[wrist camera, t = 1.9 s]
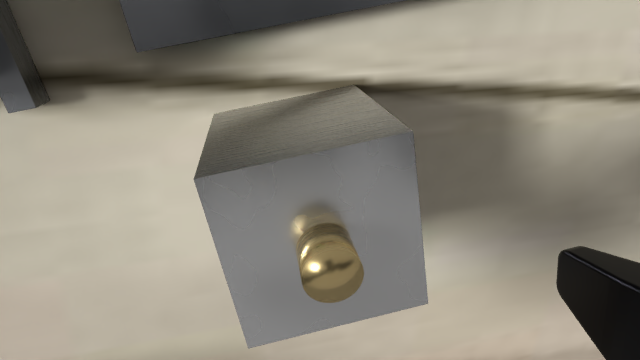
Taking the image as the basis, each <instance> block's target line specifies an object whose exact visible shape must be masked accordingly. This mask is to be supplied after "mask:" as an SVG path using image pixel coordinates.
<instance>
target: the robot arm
mask: <svg viewBox="0 0 640 360" xmlns="http://www.w3.org/2000/svg"><path fill="white" fill-rule="evenodd" d="M556 283H557V289H558V292H559V294H560V296H561V298H562V299H563V300H564V302H565V303H566V305H567V306H568V307H569V309H570V310H571V312H572V313H573V314H574V316H575V317H576V319H577V320H578V321H579V323H580V324H581V326H582V327H583V328H584V330H585V331H586V333H587V334H588V335H589V337H590V338H591V340H592V341H593V342H594V344H595V345H596V347H597V348H598V349H599V351H600V352H601V354H602V355H603V356H604V358H605V359H606V360H640V263H638V262H634V261H631V260H628V259H624V258H621V257H617V256H614V255H611V254H607V253H604V252H601V251H597V250H594V249H590V248H587V247H583V246H578V247H574V248H570V249H566V250H563V251H561V252H560V254H559V256H558V268H557V282H556Z"/></svg>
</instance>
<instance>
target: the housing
mask: <svg viewBox="0 0 640 360" xmlns="http://www.w3.org/2000/svg"><path fill="white" fill-rule="evenodd" d="M194 182H195V185H196V188H197V191H198V194H199V197H200V200H201V203H202V206H203V209H204V213H205V216H206V219H207V222H208V225H209V228H210V231H211V234H212V237H213V240H214V244H215V247H216V250H217V253H218V256H219V259H220V262H221V265H222V268H223V271H224V274H225V278H226V281H227V284H228V287H229V290H230V293H231V296H232V299H233V302H234V305H235V309H236V312H237V315H238V318H239V321H240V324H241V327H242V330H243V333H244V336H245V339H246V343H247V346H248V348H252V347H256V346H260V345H264V344H268V343H272V342H276V341H280V340H284V339H288V338H292V337H296V336H300V335H304V334H308V333H312V332H316V331H320V330H324V329H328V328H332V327H336V326H340V325H344V324H348V323H352V322H356V321H360V320H364V319H368V318H372V317H376V316H380V315H384V314H388V313H392V312H396V311H400V310H404V309H408V308H412V307H416V306H420V305H424V304H428V296H427V285H426V273H425V262H424V250H423V239H422V227H421V216H420V204H419V193H418V181H417V170H416V158H415V147H414V135H413V131H412V130H411V129H410V128H408V127H407V126H406V125H405V124H403V123H402V122H401V121H400V120H398V119H397V118H396V117H394V116H393V115H392V114H391V113H389V112H388V111H387V110H385V109H384V108H383V107H382V106H380V105H379V104H378V103H377V102H375V101H374V100H373V99H371V98H370V97H369V96H368V95H366V94H365V93H364V92H363V91H361V90H360V89H359V88H357V87H356V86H355V85H350V86H345V87H340V88H336V89H331V90H326V91H321V92H316V93H312V94H307V95H302V96H297V97H292V98H288V99H283V100H278V101H273V102H268V103H264V104H259V105H254V106H249V107H245V108H240V109H235V110H230V111H225V112H221V113H216V114H214V115H213V118H212V122H211V125H210V128H209V131H208V135H207V138H206V141H205V144H204V147H203V151H202V154H201V157H200V160H199V164H198V167H197V170H196V173H195V177H194Z"/></svg>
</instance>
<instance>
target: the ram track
mask: <svg viewBox="0 0 640 360" xmlns="http://www.w3.org/2000/svg"><path fill="white" fill-rule="evenodd" d="M0 97H1V99H2V101H3V103H4V105H5V107H6V109H7V111H8V113H12V112H17V111H22V110H27V109H32V108H36V107H38V106H40V105H42V104H44V103H46V102H48V101H50V100H49V97H48V95H47V93H46V90H45V88H44V86H43V84H42V81H41V79H40V77H39V75H38V72H37V70H36V68H35V65H34V63H33V61H32V59H31V56H30V54H29V52H28V49H27V47H26V45H25V43H24V40H23V38H22V36H21V33H20V31H19V29H18V27H17V24H16V22H15V20H14V17H13V15H12V13H11V11H10V8H9V6H8V4H7V2H6V0H0Z"/></svg>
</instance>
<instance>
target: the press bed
mask: <svg viewBox="0 0 640 360" xmlns="http://www.w3.org/2000/svg"><path fill="white" fill-rule="evenodd" d="M119 1H120V4H121V7H122V10H123V13H124V16H125V19H126V22H127V25H128V28H129V31H130V34H131V37H132V40H133V42H134V45H135V48H136V51H137V52H142V51H147V50H152V49H157V48H162V47H167V46H173V45H178V44H183V43H188V42H193V41H198V40H204V39H209V38H214V37H219V36H224V35H229V34H235V33H240V32H245V31H250V30H255V29H260V28H265V27H271V26H276V25H281V24H286V23H291V22H296V21H302V20H307V19H312V18H317V17H322V16H327V15H333V14H338V13H343V12H348V11H353V10H358V9H363V8H369V7H374V6H379V5H384V4H389V3H394V2H400V1H405V0H119Z"/></svg>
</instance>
